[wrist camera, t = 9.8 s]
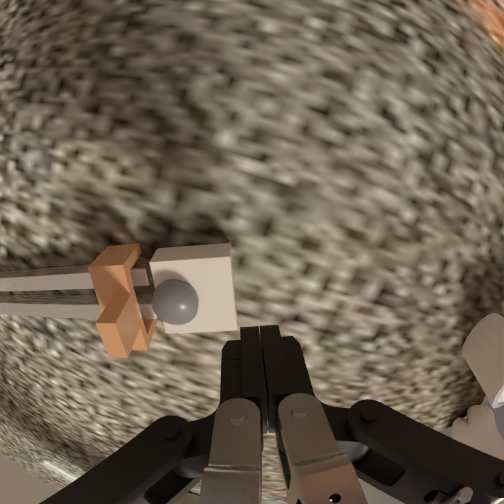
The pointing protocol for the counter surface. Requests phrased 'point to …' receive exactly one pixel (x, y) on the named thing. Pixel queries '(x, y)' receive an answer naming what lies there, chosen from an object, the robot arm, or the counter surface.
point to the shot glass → (487, 356)
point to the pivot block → (194, 288)
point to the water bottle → (479, 432)
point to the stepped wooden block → (119, 301)
